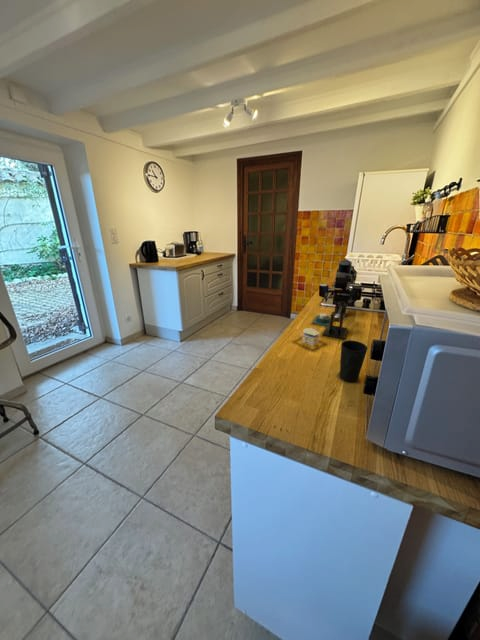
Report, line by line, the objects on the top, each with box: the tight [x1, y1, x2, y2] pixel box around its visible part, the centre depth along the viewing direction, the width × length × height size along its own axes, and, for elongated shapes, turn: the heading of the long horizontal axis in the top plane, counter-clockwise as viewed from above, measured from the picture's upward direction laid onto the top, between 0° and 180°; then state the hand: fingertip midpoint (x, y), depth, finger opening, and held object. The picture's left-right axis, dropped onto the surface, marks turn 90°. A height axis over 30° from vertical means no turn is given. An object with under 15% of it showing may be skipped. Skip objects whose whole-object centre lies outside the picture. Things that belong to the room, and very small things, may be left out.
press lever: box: [334, 301, 345, 323], centre depth 118 cm, size 13×3×3 cm, turn 151°
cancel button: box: [319, 313, 328, 319], centre depth 129 cm, size 4×4×2 cm
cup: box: [339, 340, 368, 383], centre depth 83 cm, size 8×8×12 cm
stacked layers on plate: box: [301, 327, 320, 347], centre depth 108 cm, size 10×9×6 cm
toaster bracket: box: [322, 311, 349, 341], centre depth 115 cm, size 12×9×10 cm
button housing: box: [312, 314, 331, 327], centre depth 129 cm, size 10×8×3 cm
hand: (336, 301), depth 113 cm, fingers open, 9 cm apart
